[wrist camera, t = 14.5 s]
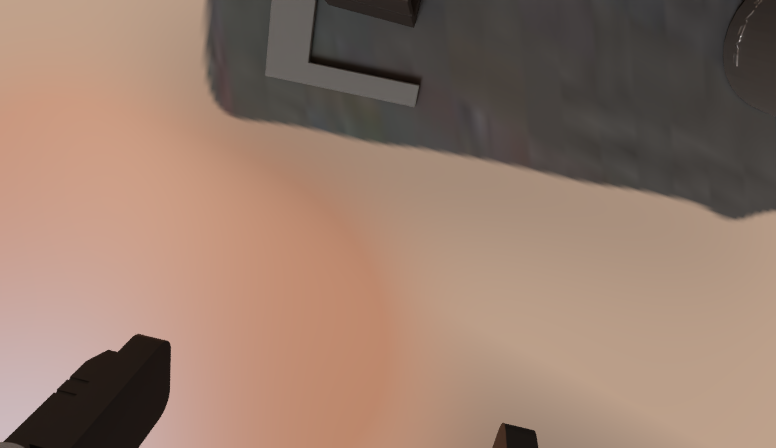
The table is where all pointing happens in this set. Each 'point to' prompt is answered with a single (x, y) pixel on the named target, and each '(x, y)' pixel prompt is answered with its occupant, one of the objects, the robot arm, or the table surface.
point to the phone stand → (383, 9)
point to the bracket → (293, 63)
